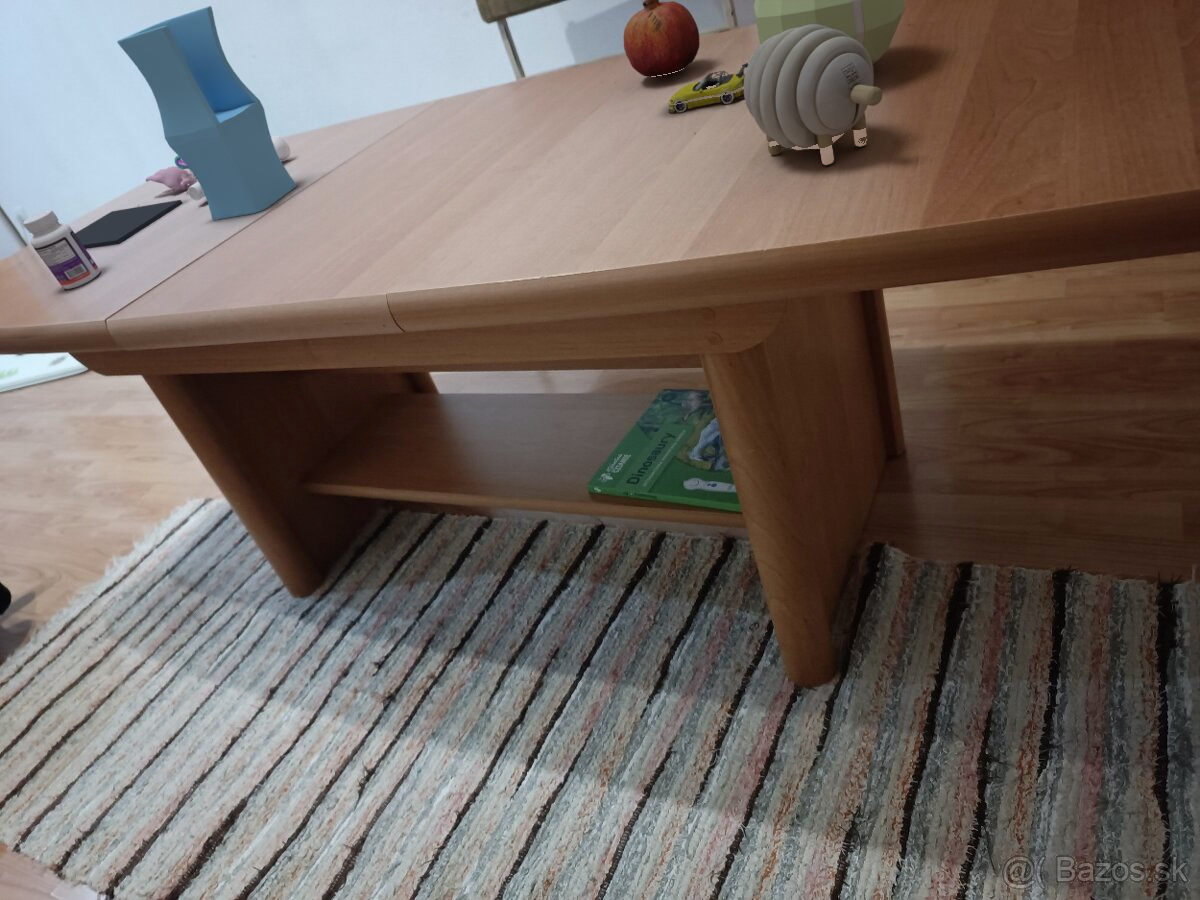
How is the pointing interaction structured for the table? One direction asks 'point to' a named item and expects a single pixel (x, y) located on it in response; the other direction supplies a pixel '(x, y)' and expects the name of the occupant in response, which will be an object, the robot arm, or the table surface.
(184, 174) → the pink figurine
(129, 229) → the mat
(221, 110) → the vase
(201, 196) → the binoculars
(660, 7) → the fruit
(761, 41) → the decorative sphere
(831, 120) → the toy sheep
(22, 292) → the table surface
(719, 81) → the toy car
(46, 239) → the pill bottle
